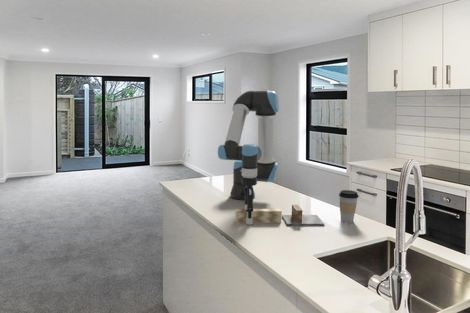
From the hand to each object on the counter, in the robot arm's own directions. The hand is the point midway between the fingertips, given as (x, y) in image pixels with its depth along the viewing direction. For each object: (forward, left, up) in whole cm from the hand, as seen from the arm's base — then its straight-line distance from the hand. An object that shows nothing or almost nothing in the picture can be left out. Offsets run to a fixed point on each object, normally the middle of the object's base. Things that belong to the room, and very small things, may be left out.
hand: (248, 220), depth 186 cm
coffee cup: (+35, +35, 0) cm, 50 cm away
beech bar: (+4, +4, -1) cm, 5 cm away
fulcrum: (+19, +19, 0) cm, 27 cm away
